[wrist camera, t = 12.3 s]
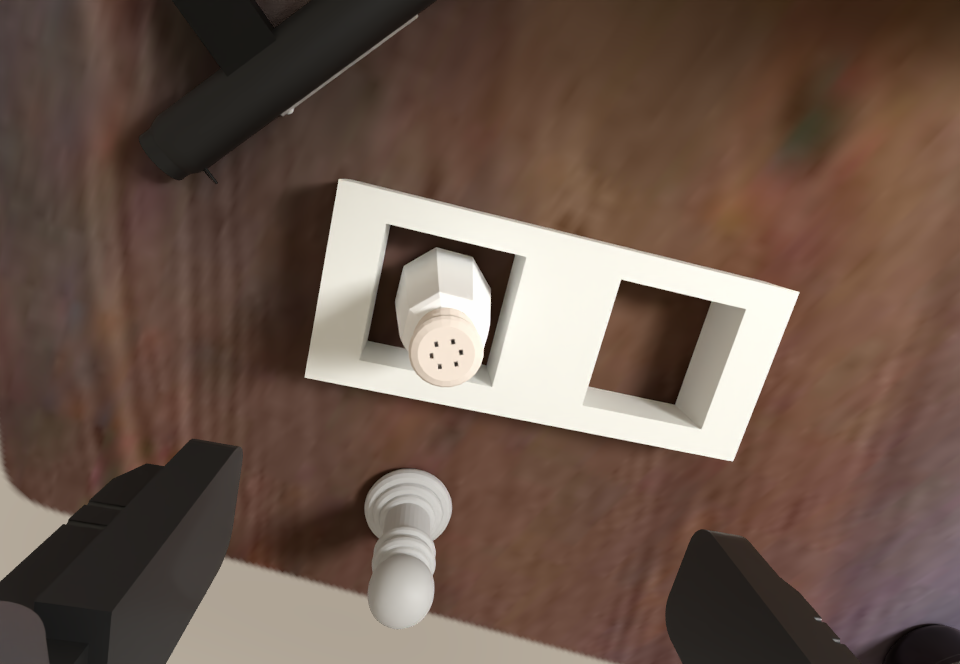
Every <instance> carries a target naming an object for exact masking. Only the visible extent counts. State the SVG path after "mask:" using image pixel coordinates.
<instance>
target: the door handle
mask: <svg viewBox="0 0 960 664" xmlns="http://www.w3.org/2000/svg"><path fill="white" fill-rule="evenodd" d="M172 1H173V2H174V4H175V5H176V6H177V8H178V9H179V11H180V12H181V13H182V15H183V16H184V18H185V19H186V20H187V22H188V23H189V24H190V26H191V27H192V29H193V30H194V31H195V33H196V34H197V36H198V37H199V38H200V40H201V41H202V42H203V44H204V45H205V47H206V48H207V49H208V51H209V52H210V54H211V55H212V56H213V58H214V59H215V60H216V62H217V63H218V65H219V66H220V67H221V69H219V70H218V71H217V72H215V73H214V74H213V75H211V76H210V77H209V78H207V79H206V80H205V81H203V82H202V83H201V84H199V85H198V86H197V87H195V88H194V89H193V90H192V91H190V92H189V93H188V94H186V95H185V96H184V97H182V98H181V99H180V100H178V101H177V102H176V103H174V104H173V105H172V106H170V107H169V108H168V109H166V110H165V111H164V112H162V113H161V114H160V115H158V116H157V117H156V118H155V120H154V121H153V123H152V125H151V128H150V129H148V130H147V131H146V132H144V133H143V134H142V135H140V136H139V142H140V144H141V146H142V148H143V150H144V151H145V153H146V154H147V155H148V157H149V158H150V159H151V160H152V161H153V162H154V163H155V164H156V165H157V166H158V167H159V168H160V169H161V170H162V171H163V172H165V173H166V174H167V175H169V176H170V177H172V178H174V179H176V180H182V179H184V178H185V177H186V176H188V175H189V174H190V173H198V172H201V171H204V172H205V173H206V174H207V173H208V174H209V175H208V174H207V175H208V177H209V176H210V177H211V178H212V180H213V181H214V182H215V184H217V183H218V182H217V181H216V179H215V178H214V177H213V176H212V174H211V173H210V172H209V170H208V169H207V168H209V167H210V166H211V165H213V164H214V163H215V162H217V161H218V160H220V159H221V158H222V157H224V156H225V155H226V154H228V153H229V152H230V151H232V150H233V149H235V148H236V147H237V146H239V145H240V144H241V143H243V142H244V141H245V140H247V139H248V138H250V137H251V136H252V135H254V134H255V133H256V132H258V131H259V130H260V129H262V128H263V127H265V126H266V125H267V124H269V123H270V122H271V121H273V120H274V119H275V118H277V117H278V116H280V115H282V116H284V115H286V114H292V113H293V111H294V108H295V107H296V106H298V105H299V104H301V103H302V102H303V101H305V100H306V99H307V98H309V97H310V96H311V95H313V94H314V93H316V92H317V91H318V90H320V89H321V88H322V87H324V86H325V85H326V84H328V83H329V82H331V81H332V80H333V79H335V78H336V77H337V76H339V75H340V74H341V73H343V72H344V71H346V70H347V69H348V68H350V67H351V66H352V65H354V64H355V63H356V62H358V61H359V60H361V59H362V58H363V57H365V56H366V55H367V54H369V53H370V52H372V51H373V50H374V49H376V48H377V47H378V46H380V45H381V44H382V43H384V42H385V41H387V40H388V39H389V38H391V37H392V36H393V35H395V34H396V33H397V32H399V31H400V30H402V29H403V28H404V27H406V26H407V25H408V24H410V23H411V22H412V21H414V20H415V19H417V18H418V14H419V13H420V12H421V11H423V10H424V9H426V8H427V7H428V6H430V5H431V4H432V3H434V2H435V1H436V0H311V1H310V2H309V3H307V4H306V5H305V6H303V7H302V8H301V9H299V10H298V11H297V12H295V13H294V14H293V15H291V16H290V17H289V18H287V19H286V20H285V21H283V22H282V23H281V24H279V25H278V26H277V27H275V28H274V27H273V26H272V24H271V23H270V21H269V20H268V19H267V17H266V16H265V14H264V13H263V11H262V10H261V8H260V7H259V6H258V4H257V3H256V1H255V0H172ZM205 170H206V171H205ZM210 177H209V178H210ZM211 178H210V179H211ZM214 182H213V183H214Z"/></svg>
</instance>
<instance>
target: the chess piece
mask: <svg viewBox="0 0 960 664" xmlns="http://www.w3.org/2000/svg"><path fill="white" fill-rule="evenodd" d="M364 510H365V517H366V521H367V523H368V526H369V527H370V529H371V531H372V532H373V533H374V534H375V535H376V536H377V537H378V538H379V540H378V541H377V543H376V545H375V548H374V556H373V559H372V570H373V574H372V577H371V579H370V582H369V587H368V603H369V607H370V610H371V612H372V614H373V616H374V617H375V618H376V619H377V621H379V622H380V623H381V624H383V625H384V626H387V627H389V628H393V629H405V628H409V627H412V626H414V625H416V624H417V623H419V622H420V621H421V620H422V619H423V618H424V617H425V616H426V614H427V613H428V611H429V609H430V607H431V605H432V602H433V597H434V580H433V573H434V571H435V566H436V561H435V555H436V550H435V546H434V543H433V540H434V539H436V538H437V537H438V536H439V535H440V534H441V533H442V532H443V531H444V530H445V528H446V526H447V524H448V522H449V520H450V517H451V513H452V502H451V498H450V495H449V493H448V491H447V489H446V487H445V486H444V484H443V483H442V482H441V481H440V480H439V479H438V478H436V477H435V476H434V475H432V474H430V473H428V472H426V471H422V470H418V469H400V470H396V471H392V472H390V473H388V474H386V475H384V476H383V477H381V478H380V479H379V480H378V481H377V482H376V483H375V484H374V485H373V486H372V488H371V489H370V491H369V492H368V494H367V497H366V500H365V507H364Z"/></svg>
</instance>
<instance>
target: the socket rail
mask: <svg viewBox="0 0 960 664" xmlns="http://www.w3.org/2000/svg"><path fill="white" fill-rule="evenodd" d="M390 225H394V226H398V227H403V228H407V229H411V230H415V231H419V232H424V233H428V234H432V235H436V236H440V237H445V238H449V239H453V240H457V241H461V242H466V243H470V244H474V245H478V246H482V247H487V248H491V249H495V250H499V251H503V252H508V253H512V254H515V257H514V261H513V265H512V269H511V273H510V276H509V280H508V284H507V288H506V292H505V296H504V300H503V303H502V307H501V311H500V315H499V319H498V323H497V327H496V331H495V334H494V338H493V342H492V346H491V350H490V354H489V358H488V362H487V365H482V364H481V366H480V368H479V369H478V371H477V372H476V374H475V375H474V376H473V377H472V378H471V379H469V380H468V381H466V382H464V383H463V384H461V385H457V386H454V387H438V386H434V385H431V384H429V383H427V382H425V381H424V380H422V379H421V378H420V377H419V376H418V375H417V374H416V372H415V371H414V369H413V368H412V366H411V363H410V360H409V353H408V351H407V350H406V349H405V348H400V347H395V346H390V345H386V344H381V343H376V342H371V341H368V336H369V331H370V326H371V321H372V316H373V311H374V306H375V301H376V296H377V291H378V286H379V281H380V276H381V271H382V266H383V261H384V256H385V251H386V246H387V240H388V235H389V230H390ZM621 280H625V281H630V282H634V283H638V284H642V285H646V286H651V287H655V288H659V289H663V290H667V291H672V292H676V293H680V294H684V295H688V296H693V297H697V298H701V299H705V300H709V301H712V302H711V305H710V307H709V310H708V313H707V316H706V319H705V321H704V324H703V327H702V330H701V333H700V336H699V338H698V341H697V344H696V347H695V350H694V353H693V355H692V358H691V361H690V364H689V367H688V369H687V372H686V375H685V378H684V381H683V384H682V386H681V389H680V392H679V395H678V398H677V400H676V403H675V405H674V404H669V403H665V402H660V401H655V400H650V399H645V398H641V397H636V396H631V395H626V394H621V393H616V392H612V391H607V390H602V389H597V388H592V387H588V385H589V382H590V379H591V375H592V372H593V369H594V366H595V362H596V359H597V356H598V353H599V350H600V346H601V343H602V340H603V337H604V333H605V330H606V327H607V324H608V321H609V317H610V314H611V311H612V308H613V304H614V301H615V298H616V295H617V291H618V288H619V285H620V282H621ZM798 295H799V292H797V291H794V290H791V289H787V288H784V287H781V286H778V285H774V284H771V283H768V282H764V281H761V280H757V279H753V278H749V277H745V276H741V275H737V274H733V273H729V272H725V271H721V270H716V269H712V268H708V267H704V266H700V265H696V264H692V263H688V262H684V261H680V260H676V259H672V258H668V257H664V256H660V255H656V254H652V253H648V252H643V251H639V250H635V249H631V248H627V247H623V246H619V245H615V244H611V243H607V242H603V241H599V240H595V239H591V238H587V237H583V236H579V235H575V234H571V233H566V232H562V231H558V230H554V229H550V228H546V227H542V226H538V225H534V224H530V223H526V222H522V221H518V220H514V219H510V218H506V217H502V216H498V215H493V214H489V213H485V212H481V211H477V210H473V209H469V208H465V207H461V206H457V205H453V204H449V203H445V202H441V201H437V200H433V199H429V198H425V197H420V196H416V195H412V194H408V193H404V192H400V191H396V190H392V189H388V188H384V187H380V186H376V185H372V184H368V183H364V182H360V181H356V180H352V179H339V181H338V186H337V192H336V198H335V204H334V210H333V215H332V221H331V227H330V233H329V239H328V244H327V250H326V256H325V262H324V267H323V273H322V279H321V285H320V291H319V296H318V302H317V308H316V314H315V320H314V325H313V331H312V337H311V343H310V348H309V354H308V360H307V366H306V372H305V377H304V378H309V379H315V380H320V381H325V382H330V383H335V384H340V385H345V386H350V387H355V388H361V389H366V390H371V391H376V392H381V393H386V394H391V395H396V396H401V397H406V398H412V399H417V400H422V401H427V402H432V403H437V404H442V405H447V406H452V407H458V408H463V409H468V410H473V411H478V412H483V413H488V414H493V415H498V416H504V417H509V418H514V419H519V420H524V421H529V422H534V423H539V424H544V425H549V426H555V427H560V428H565V429H570V430H575V431H580V432H585V433H590V434H595V435H601V436H606V437H611V438H616V439H621V440H626V441H631V442H636V443H641V444H646V445H652V446H657V447H662V448H667V449H672V450H677V451H682V452H687V453H692V454H698V455H703V456H708V457H713V458H718V459H723V460H728V461H733V460H734V458H735V455H736V453H737V450H738V447H739V445H740V442H741V440H742V437H743V435H744V432H745V430H746V427H747V425H748V422H749V419H750V417H751V414H752V412H753V409H754V407H755V404H756V402H757V399H758V397H759V394H760V392H761V389H762V386H763V384H764V381H765V379H766V376H767V374H768V371H769V369H770V366H771V364H772V361H773V358H774V356H775V353H776V351H777V348H778V346H779V343H780V341H781V338H782V336H783V333H784V331H785V328H786V325H787V323H788V320H789V318H790V315H791V313H792V310H793V308H794V305H795V303H796V300H797V298H798Z"/></svg>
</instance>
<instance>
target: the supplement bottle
mask: <svg viewBox="0 0 960 664" xmlns="http://www.w3.org/2000/svg"><path fill="white" fill-rule="evenodd" d="M884 664H960V631H959V630H957V629H955V628H952V627H949V626H943V625H931V626H925V627H921V628H918V629H915V630H913V631H911V632H909V633H907V634H906V635H904V636H903V637H902V638H900V639H899V640H898V641H897V642H896V643H895V644H894V645H893V646H892V648H891V649H890V650H889V652H888V654H887V656H886V658H885V662H884Z"/></svg>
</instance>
